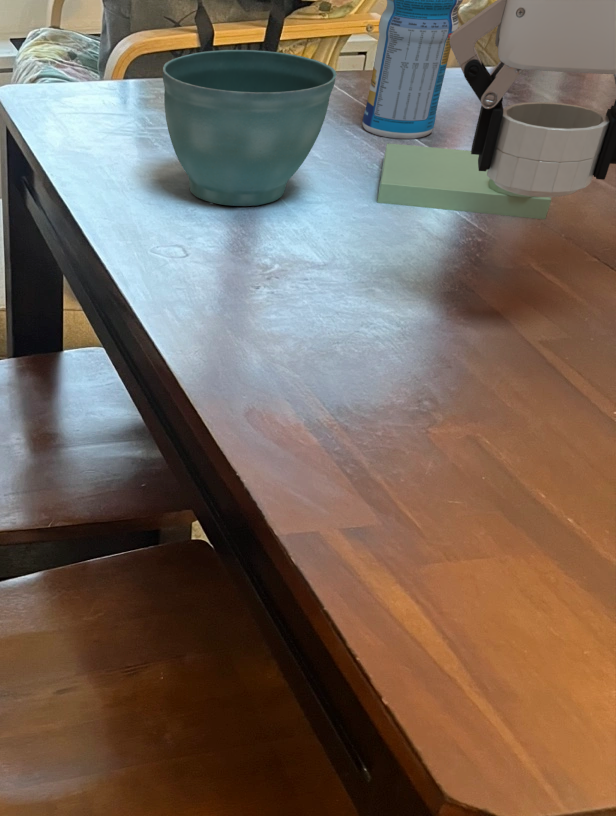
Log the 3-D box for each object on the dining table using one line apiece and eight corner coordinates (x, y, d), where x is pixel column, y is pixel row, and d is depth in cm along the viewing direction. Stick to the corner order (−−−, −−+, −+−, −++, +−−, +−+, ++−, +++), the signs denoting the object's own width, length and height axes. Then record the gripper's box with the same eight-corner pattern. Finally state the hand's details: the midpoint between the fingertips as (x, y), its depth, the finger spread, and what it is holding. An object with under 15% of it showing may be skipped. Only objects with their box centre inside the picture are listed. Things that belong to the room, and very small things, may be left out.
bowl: (583, 172, 79) (603, 105, 76) (592, 203, 74) (614, 132, 71) (483, 166, 80) (499, 99, 77) (485, 196, 75) (503, 126, 72)
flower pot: (174, 223, 99) (185, 93, 91) (140, 170, 110) (147, 50, 103) (338, 217, 101) (361, 89, 93) (288, 165, 112) (305, 47, 105)
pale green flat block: (536, 176, 111) (547, 140, 109) (545, 221, 101) (557, 182, 98) (382, 162, 114) (390, 126, 111) (376, 204, 104) (384, 166, 101)
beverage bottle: (388, 144, 119) (433, -77, 105) (345, 124, 124) (382, -88, 110) (448, 136, 121) (500, -80, 107) (403, 117, 127) (447, -91, 113)
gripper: (768, -148, 65) (660, 163, 77) (477, -153, 68) (417, 147, 80) (797, -137, 60) (675, 195, 72) (480, -142, 63) (415, 177, 75)
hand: (540, 168), depth 76 cm, fingers closed on bowl, 7 cm apart
